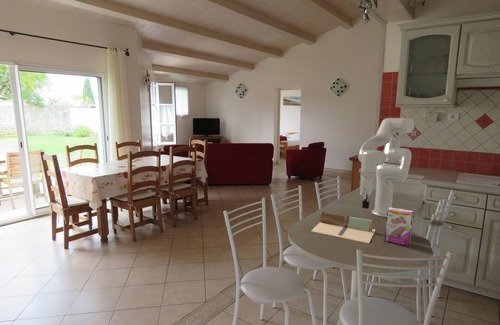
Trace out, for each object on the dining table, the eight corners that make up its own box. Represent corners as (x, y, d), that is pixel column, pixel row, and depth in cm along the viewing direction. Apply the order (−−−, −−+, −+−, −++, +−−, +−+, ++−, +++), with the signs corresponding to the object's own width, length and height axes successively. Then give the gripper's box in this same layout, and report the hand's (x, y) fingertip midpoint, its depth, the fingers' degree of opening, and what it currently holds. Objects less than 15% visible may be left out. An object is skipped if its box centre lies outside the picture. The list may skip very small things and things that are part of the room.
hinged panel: (349, 225, 168) (349, 215, 167) (372, 230, 162) (373, 219, 161) (348, 226, 167) (349, 216, 166) (372, 231, 161) (372, 220, 160)
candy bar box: (384, 241, 150) (386, 209, 147) (385, 238, 154) (388, 206, 152) (409, 246, 145) (413, 213, 142) (410, 243, 149) (413, 210, 146)
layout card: (322, 220, 179) (322, 219, 179) (375, 230, 165) (375, 229, 164) (310, 231, 162) (311, 230, 162) (369, 243, 148) (369, 242, 147)
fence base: (320, 221, 177) (320, 210, 175) (348, 227, 169) (349, 215, 168) (319, 222, 175) (319, 211, 174) (347, 228, 167) (348, 216, 166)
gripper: (363, 172, 173) (360, 203, 175) (358, 175, 160) (355, 210, 162) (377, 173, 169) (374, 205, 171) (373, 177, 156) (370, 212, 159)
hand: (365, 207), depth 167 cm, fingers closed
